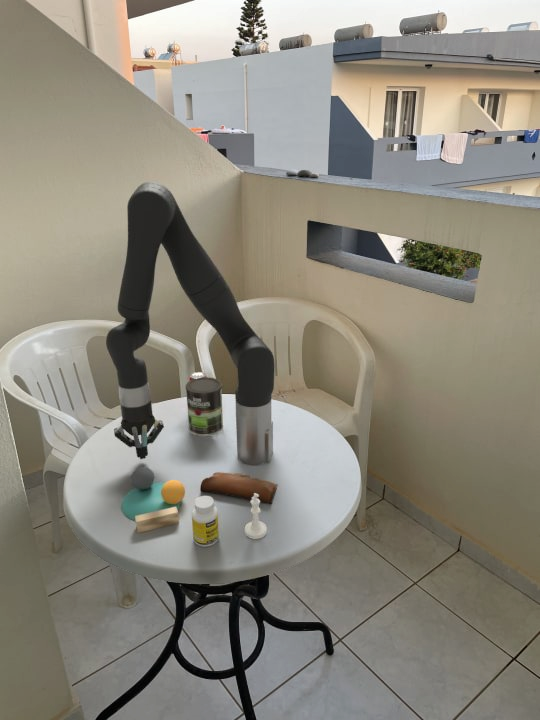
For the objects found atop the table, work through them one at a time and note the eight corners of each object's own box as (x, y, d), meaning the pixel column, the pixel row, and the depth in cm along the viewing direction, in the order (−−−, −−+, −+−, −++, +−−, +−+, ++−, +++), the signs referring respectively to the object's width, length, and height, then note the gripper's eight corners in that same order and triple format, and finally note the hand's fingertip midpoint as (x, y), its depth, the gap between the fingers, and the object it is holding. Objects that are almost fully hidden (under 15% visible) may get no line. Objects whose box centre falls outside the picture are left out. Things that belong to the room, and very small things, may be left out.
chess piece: (271, 530, 110) (271, 493, 106) (255, 542, 107) (255, 504, 103) (255, 519, 113) (255, 483, 109) (239, 531, 110) (238, 494, 106)
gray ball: (159, 487, 122) (157, 476, 127) (149, 469, 120) (147, 459, 125) (137, 498, 121) (136, 487, 126) (127, 480, 119) (126, 469, 124)
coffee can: (215, 439, 144) (213, 395, 138) (182, 433, 147) (179, 390, 141) (228, 421, 153) (227, 379, 147) (197, 416, 156) (194, 375, 150)
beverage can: (207, 413, 157) (205, 379, 152) (190, 413, 157) (188, 378, 152) (209, 405, 162) (207, 371, 157) (193, 405, 162) (190, 371, 157)
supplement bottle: (208, 551, 104) (205, 513, 101) (188, 541, 107) (185, 504, 103) (224, 535, 109) (222, 498, 105) (204, 526, 111) (201, 490, 107)
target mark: (190, 486, 124) (190, 485, 124) (170, 525, 112) (170, 524, 111) (136, 480, 126) (136, 479, 126) (111, 517, 114) (110, 517, 114)
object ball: (187, 506, 118) (188, 483, 121) (179, 498, 114) (181, 475, 117) (165, 508, 119) (166, 485, 122) (156, 501, 114) (158, 477, 117)
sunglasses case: (280, 483, 125) (277, 472, 120) (274, 510, 121) (270, 500, 116) (212, 472, 129) (206, 461, 124) (204, 498, 126) (197, 487, 120)
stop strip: (177, 517, 114) (176, 506, 113) (178, 522, 112) (177, 512, 111) (136, 526, 111) (135, 516, 110) (137, 532, 109) (136, 522, 108)
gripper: (159, 388, 131) (165, 445, 138) (106, 396, 127) (115, 454, 134) (164, 401, 125) (170, 459, 132) (108, 410, 121) (117, 470, 128)
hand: (142, 457), depth 133 cm, fingers closed
